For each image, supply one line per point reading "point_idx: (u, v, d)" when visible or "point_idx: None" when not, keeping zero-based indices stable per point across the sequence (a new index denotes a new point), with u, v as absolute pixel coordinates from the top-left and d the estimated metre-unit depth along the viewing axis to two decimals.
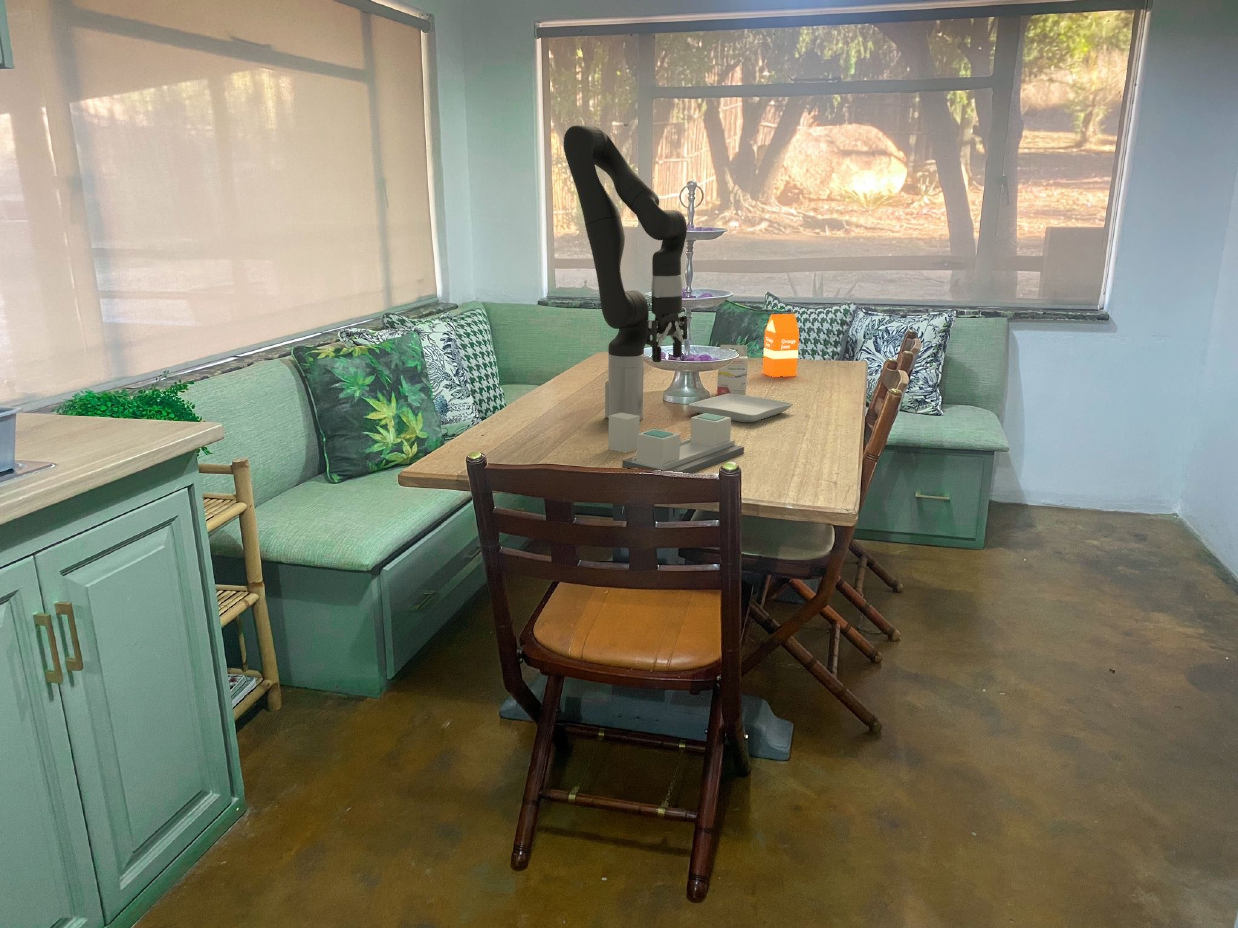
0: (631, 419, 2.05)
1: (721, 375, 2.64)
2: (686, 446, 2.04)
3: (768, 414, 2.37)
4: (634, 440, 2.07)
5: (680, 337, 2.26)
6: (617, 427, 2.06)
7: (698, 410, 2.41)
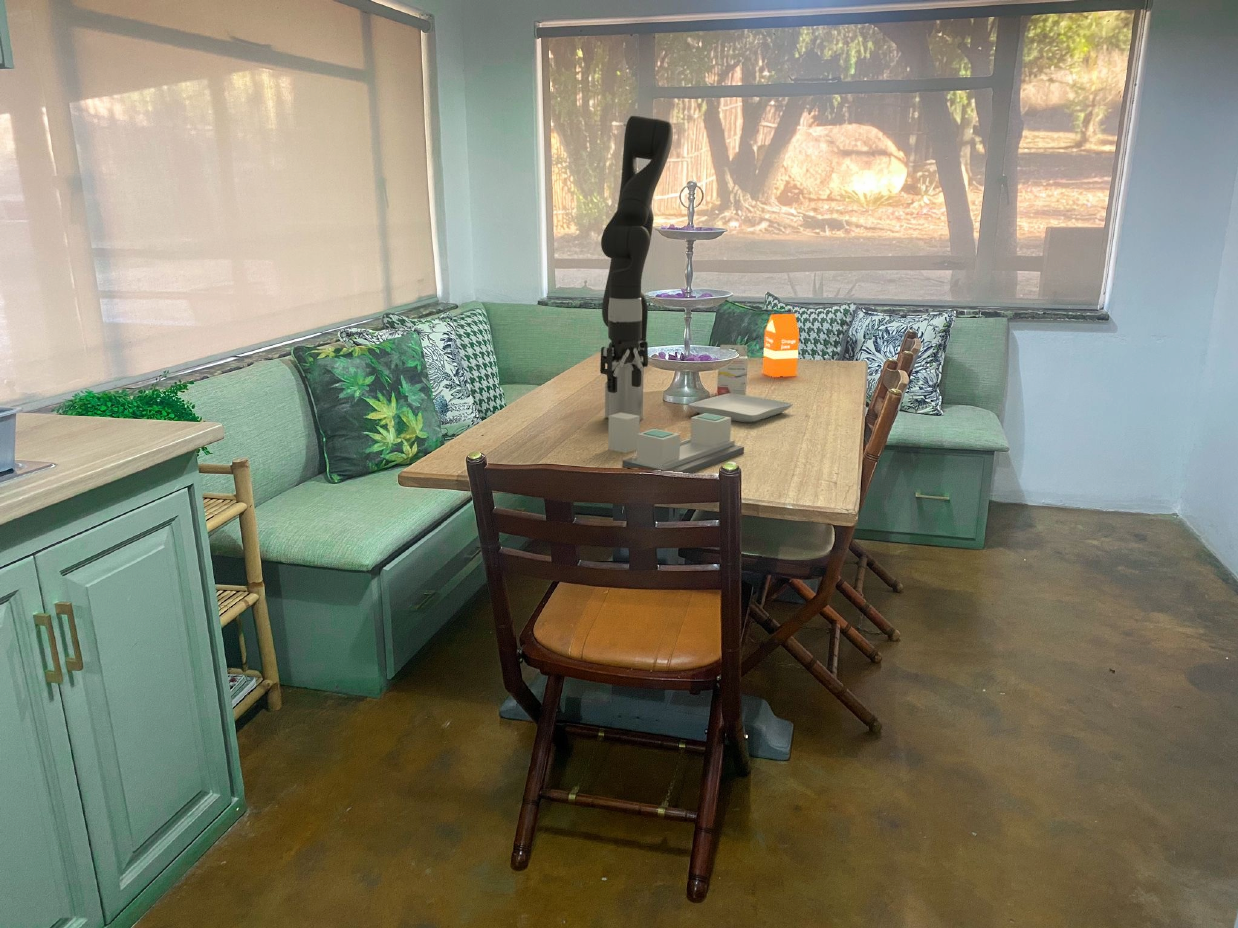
0: (631, 419, 2.05)
1: (721, 375, 2.64)
2: (686, 446, 2.04)
3: (768, 414, 2.37)
4: (634, 440, 2.07)
5: (639, 365, 2.06)
6: (617, 427, 2.06)
7: (698, 410, 2.41)
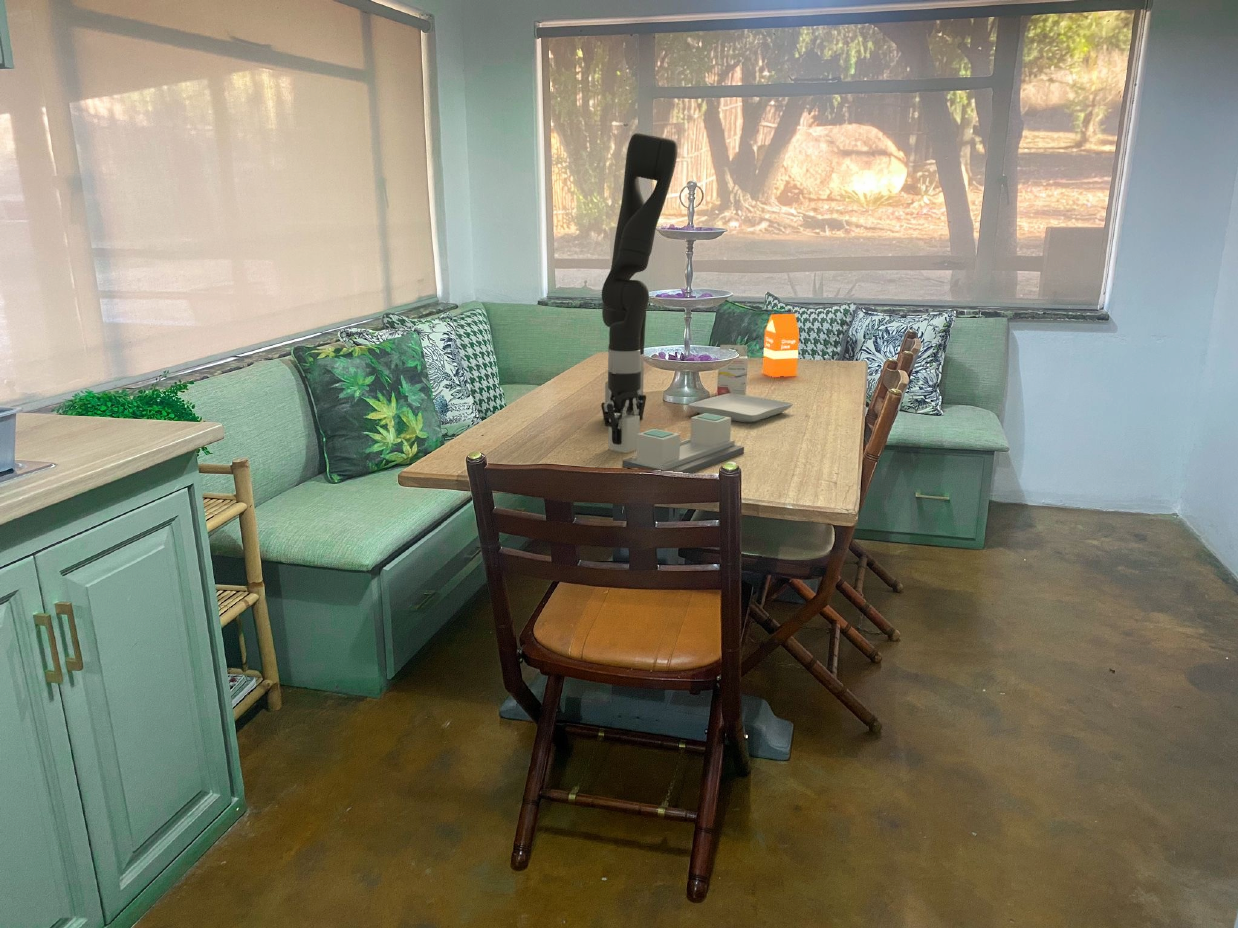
0: (631, 419, 2.05)
1: (721, 375, 2.64)
2: (686, 446, 2.04)
3: (768, 414, 2.37)
4: (634, 440, 2.07)
5: None
6: None
7: (698, 410, 2.41)
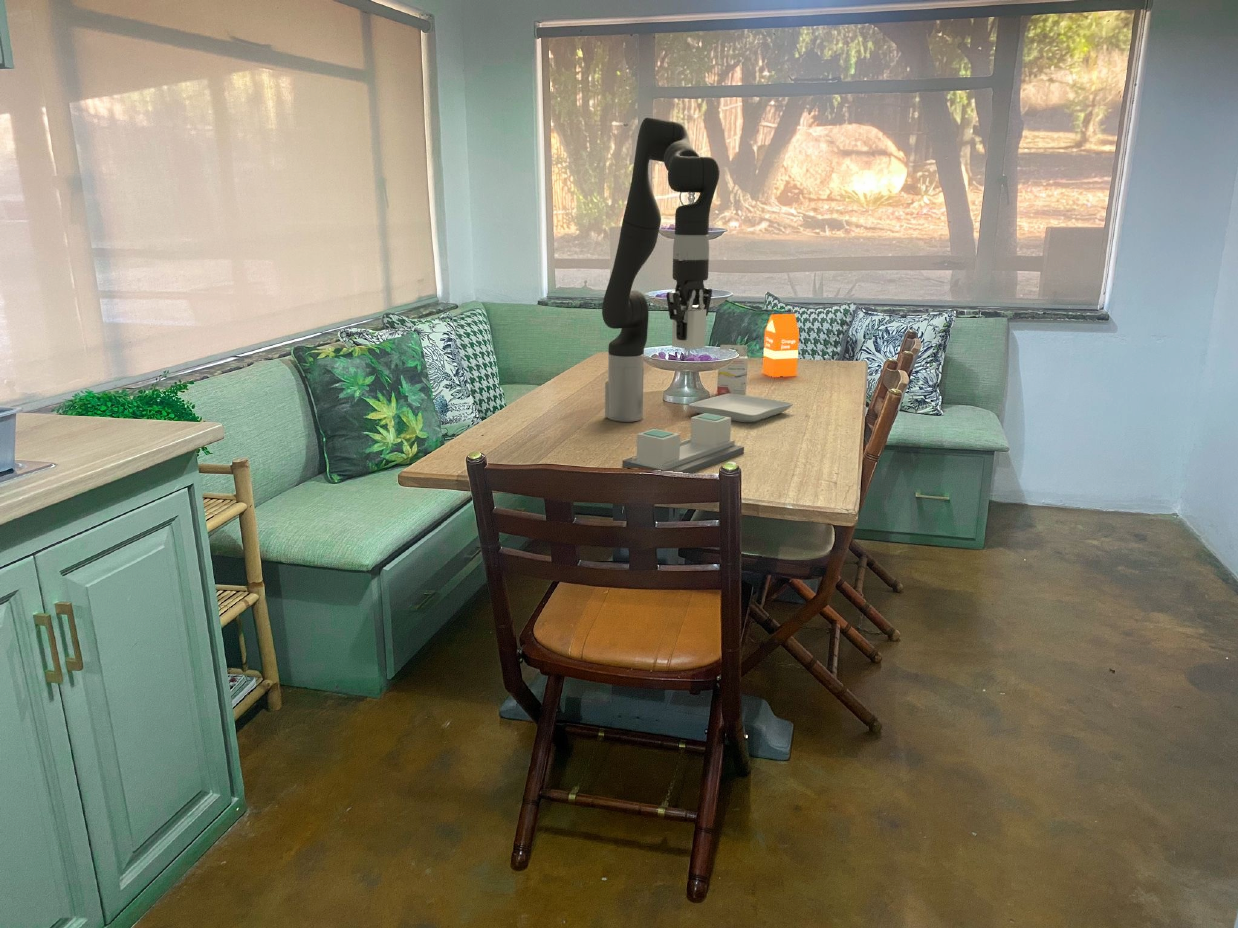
0: (698, 312, 1.89)
1: (721, 375, 2.64)
2: (686, 446, 2.04)
3: (768, 414, 2.37)
4: (700, 336, 1.91)
5: None
6: None
7: (698, 410, 2.41)
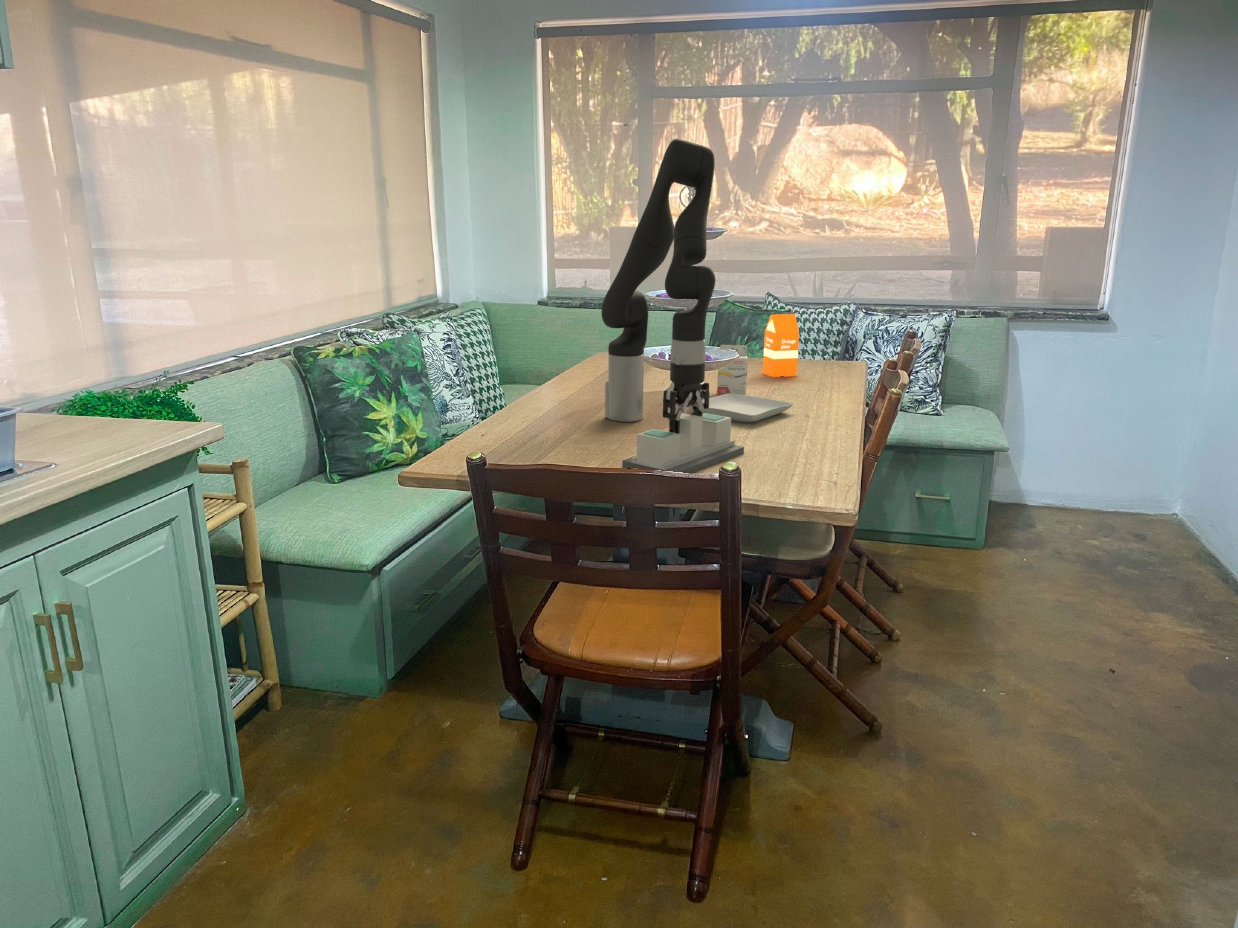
0: (695, 420, 1.96)
1: (721, 375, 2.64)
2: None
3: (768, 414, 2.37)
4: (697, 442, 1.98)
5: (701, 407, 2.00)
6: None
7: None
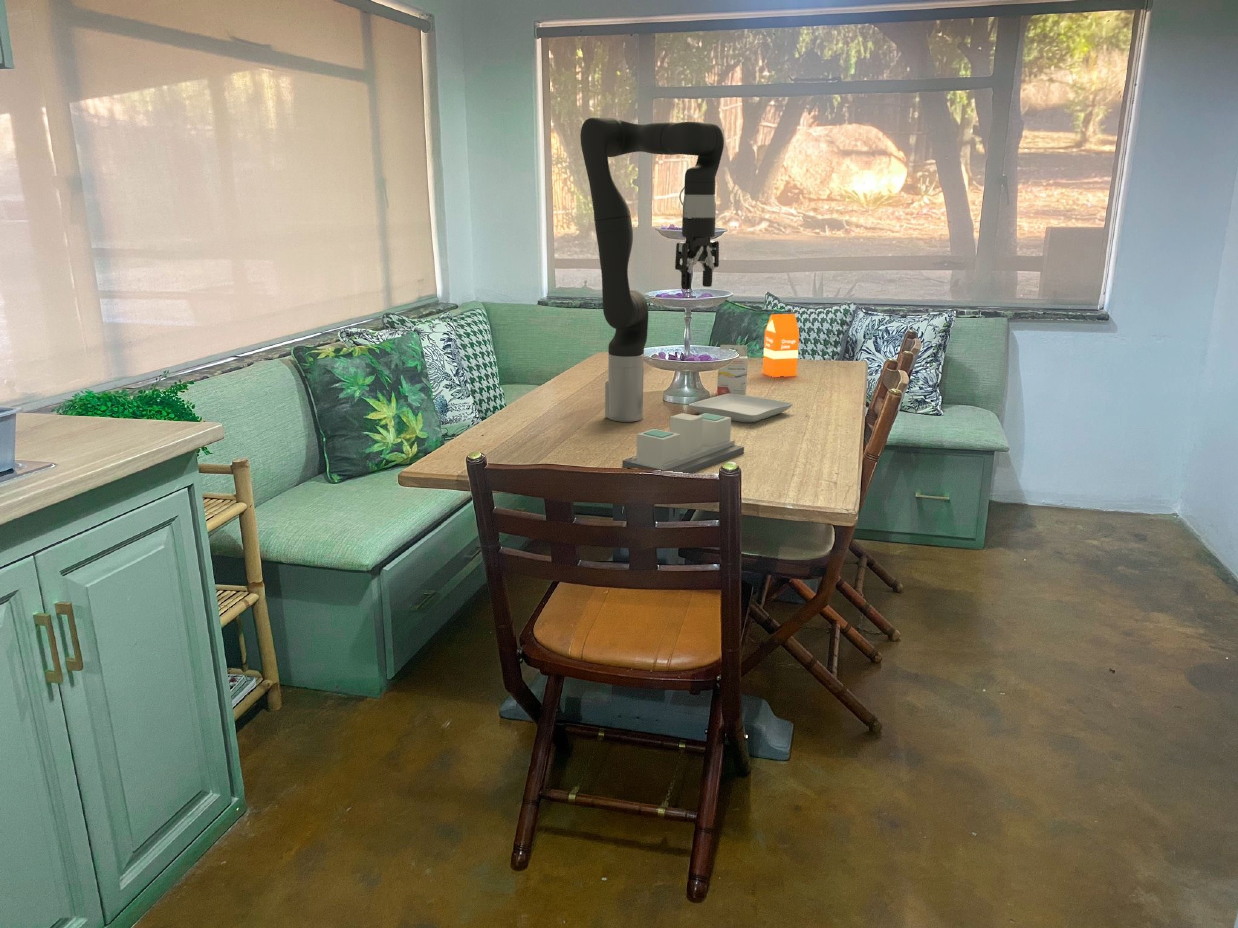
0: (695, 420, 1.96)
1: (721, 375, 2.64)
2: None
3: (768, 414, 2.37)
4: (697, 442, 1.98)
5: (711, 264, 2.10)
6: (679, 429, 1.97)
7: (698, 410, 2.41)
